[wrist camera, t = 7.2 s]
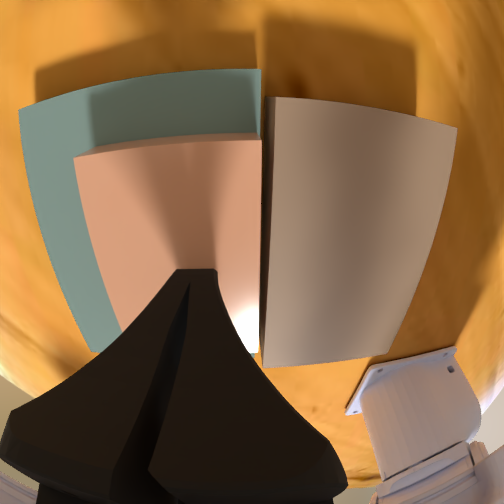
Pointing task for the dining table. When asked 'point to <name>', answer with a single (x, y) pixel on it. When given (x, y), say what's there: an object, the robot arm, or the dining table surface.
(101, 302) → the teal rectangular slab
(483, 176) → the dining table surface
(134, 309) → the terracotta tile
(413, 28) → the dining table surface
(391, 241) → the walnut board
